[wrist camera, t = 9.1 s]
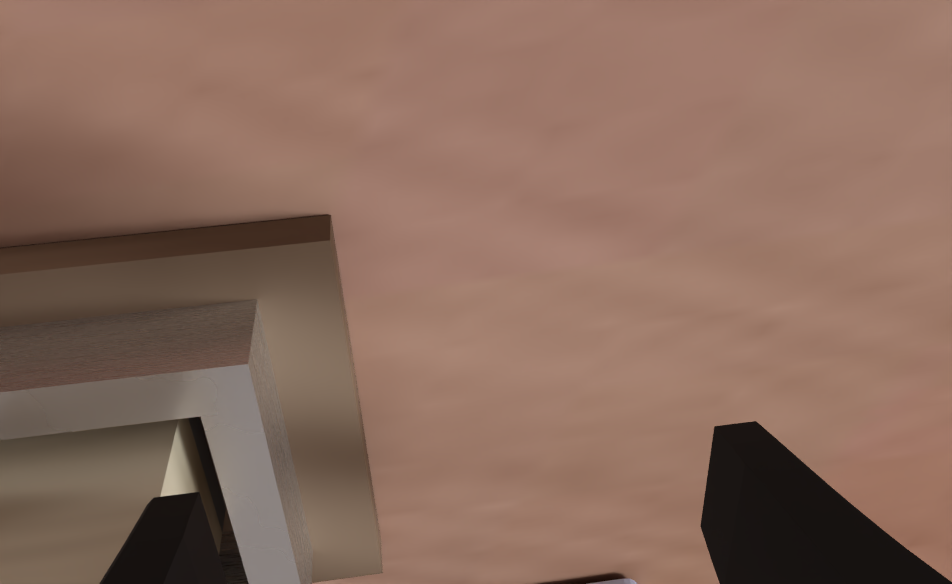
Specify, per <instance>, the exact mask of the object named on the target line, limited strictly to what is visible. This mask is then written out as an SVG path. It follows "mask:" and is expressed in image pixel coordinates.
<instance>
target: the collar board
mask: <svg viewBox="0 0 952 584" xmlns="http://www.w3.org/2000/svg"><path fill="white" fill-rule="evenodd" d="M191 417H199V418H200V422H201V425H202V429H203V432H204V436H205V439H206V443H207V446H208V450H209V453H210V457H211V460H212V464H213V467H214V471H215V474H216V478H217V481H218V484H219V488H220V491H221V495H222V498H223V502H224V505H225V509H226V511H225V518H224V525H223V531H222V538H221V545H220V552H219V557H220V560H221V564H222V567H223V570H224V573H225V577H226V580H227V583H228V584H312V583H314V582H321V581H328V580H336V579H343V578H350V577H358V576H365V575H372V574H380V573H383V572H382V553H381V538H380V532H379V525H378V519H377V512H376V506H375V499H374V493H373V486H372V480H371V473H370V467H369V461H368V454H367V448H366V441H365V435H364V428H363V422H362V415H361V409H360V402H359V396H358V389H357V383H356V376H355V370H354V363H353V357H352V350H351V344H350V337H349V331H348V324H347V318H346V311H345V305H344V299H343V292H342V286H341V279H340V273H339V266H338V260H337V253H336V247H335V240H334V234H333V227H332V221H331V215H324V216H314V217H305V218H295V219H285V220H275V221H265V222H255V223H245V224H235V225H225V226H216V227H206V228H196V229H186V230H176V231H166V232H156V233H146V234H137V235H127V236H117V237H107V238H97V239H87V240H77V241H67V242H57V243H48V244H38V245H28V246H18V247H8V248H0V440H7V439H15V438H24V437H32V436H41V435H49V434H57V433H66V432H74V431H82V430H91V429H99V428H108V427H116V426H124V425H133V424H141V423H149V422H158V421H166V420H175V419H183V418H191Z"/></svg>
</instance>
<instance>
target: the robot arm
mask: <svg viewBox="0 0 952 584" xmlns="http://www.w3.org/2000/svg"><path fill="white" fill-rule="evenodd" d="M701 529H702V532H703V535H704V538H705V541H706V544H707V547H708V550H709V553H710V557H711V560H712V563H713V566H714V568H715V571H716V574H717V577H718V580H719V583H720V584H952V582H951V581H949V580H948V579H947V578H945V577H944V576H942V575H941V574H940V573H938V572H937V571H936V570H934V569H933V568H932V567H930V566H929V565H928V564H926V563H925V562H924V561H922V560H921V559H920V558H918V557H917V556H916V555H914V554H913V553H911V552H910V551H909V550H907V549H906V548H905V547H904V546H902V545H901V544H900V543H899V542H897V541H896V540H895V539H893V538H892V537H891V536H890V535H888V534H887V533H886V532H885V531H883V530H882V529H881V528H880V527H879V526H877V525H876V524H875V523H874V522H872V521H871V520H870V519H869V518H868V517H866V516H865V515H864V514H863V513H861V512H860V511H859V510H858V509H857V508H855V507H854V506H853V505H852V504H851V503H849V502H848V501H847V500H846V499H845V498H843V497H842V496H841V495H840V494H839V493H838V492H836V491H835V490H834V489H833V488H832V487H831V486H829V485H828V484H827V483H826V482H825V481H824V480H823V479H821V478H820V477H819V476H818V475H817V474H816V473H814V472H813V471H812V470H811V469H810V468H809V467H808V466H806V465H805V464H804V463H803V462H802V461H801V460H800V459H799V458H797V457H796V456H795V455H794V454H793V453H792V452H791V451H789V450H788V449H787V448H786V447H785V446H784V445H783V444H781V443H780V442H779V441H778V440H777V439H776V438H775V437H773V436H772V435H771V434H770V433H769V432H768V431H767V430H765V429H764V428H763V427H762V426H761V425H760V424H759V423H757V422H756V421H754V422H746V423H738V424H730V425H723V426H715V427H714V434H713V441H712V448H711V455H710V463H709V470H708V477H707V484H706V491H705V498H704V505H703V513H702V520H701ZM99 584H228V583H227V580H226V577H225V573H224V570H223V567H222V564H221V560H220V557H219V554H218V551H217V548H216V544H215V541H214V538H213V535H212V531H211V528H210V525H209V522H208V518H207V515H206V512H205V509H204V505H203V502H202V499H201V496H200V492H194V493H186V494H178V495H170V496H162V497H154V498H153V499H152V500H151V501H150V502H149V503H148V504H147V506H146V507H145V509H144V511H143V512H142V514H141V516H140V517H139V519H138V521H137V523H136V524H135V526H134V528H133V529H132V531H131V533H130V534H129V536H128V538H127V539H126V541H125V543H124V544H123V546H122V548H121V549H120V551H119V553H118V554H117V556H116V558H115V559H114V561H113V562H112V564H111V566H110V567H109V569H108V570H107V572H106V574H105V575H104V577H103V578H102V580H101V582H100V583H99ZM588 584H637V583H636V582H635V581H634V580H632V579H616V580H609V581H602V582H595V583H588Z"/></svg>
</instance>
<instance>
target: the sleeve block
mask: <svg viewBox="0 0 952 584" xmlns="http://www.w3.org/2000/svg"><path fill="white" fill-rule="evenodd" d="M194 492H200V496H201V499H202V502H203V505H204V509H205V512H206V515H207V518H208V522H209V525H210V528H211V531H212V535H213V538H214V541H215V544H216V548H217V551H218V554H219V552H220V545H221V538H222V531H223V525H224V518H225V511H226V509H225V505H224V502H223V498H222V495H221V491H220V488H219V484H218V481H217V478H216V474H215V471H214V467H213V464H212V460H211V457H210V453H209V450H208V446H207V443H206V439H205V436H204V432H203V429H202V425H201V422H200V418H199V417H191V418H183V419H175V420H166V421H158V422H149V423H141V424H133V425H124V426H116V427H108V428H99V429H91V430H82V431H74V432H66V433H57V434H49V435H41V436H32V437H24V438H15V439H7V440H0V584H99V583H100V582H101V580H102V578H103V577H104V575H105V574H106V572H107V570H108V569H109V567H110V566H111V564H112V562H113V561H114V559H115V558H116V556H117V554H118V553H119V551H120V549H121V548H122V546H123V544H124V543H125V541H126V539H127V538H128V536H129V534H130V533H131V531H132V529H133V528H134V526H135V524H136V523H137V521H138V519H139V517H140V516H141V514H142V512H143V511H144V509H145V507H146V506H147V504H148V503H149V502H150V501H151V500H152V499H153V498H154V497H162V496H170V495H178V494H186V493H194Z"/></svg>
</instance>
